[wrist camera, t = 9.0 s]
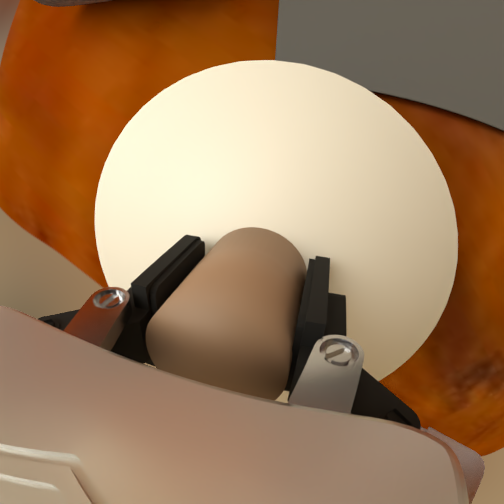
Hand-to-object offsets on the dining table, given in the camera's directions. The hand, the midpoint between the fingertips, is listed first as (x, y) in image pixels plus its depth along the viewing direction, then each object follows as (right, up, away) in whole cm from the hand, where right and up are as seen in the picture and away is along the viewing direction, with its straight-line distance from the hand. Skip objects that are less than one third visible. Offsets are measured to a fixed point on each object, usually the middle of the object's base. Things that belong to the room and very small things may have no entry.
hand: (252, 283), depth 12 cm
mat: (+10, +18, 0) cm, 21 cm away
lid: (0, +1, +2) cm, 2 cm away
